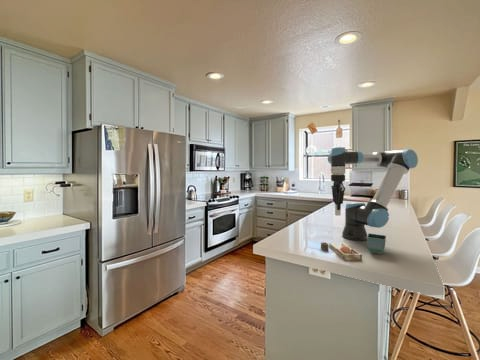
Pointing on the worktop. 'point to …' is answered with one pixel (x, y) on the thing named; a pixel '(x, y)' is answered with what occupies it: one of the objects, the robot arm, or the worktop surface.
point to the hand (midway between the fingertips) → (337, 215)
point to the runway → (338, 247)
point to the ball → (345, 249)
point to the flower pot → (376, 243)
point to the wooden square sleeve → (324, 246)
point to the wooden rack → (349, 255)
